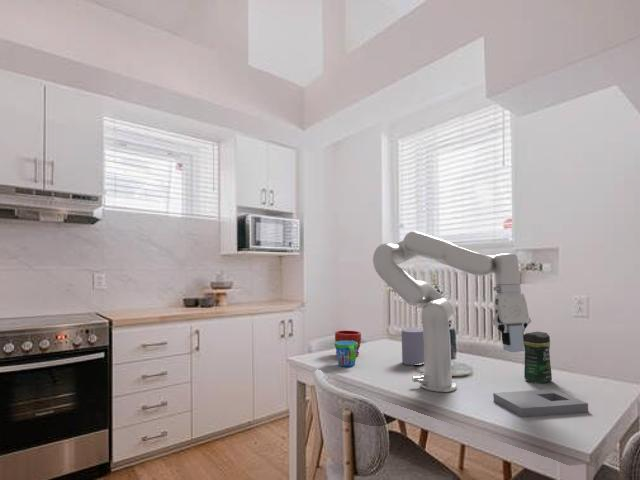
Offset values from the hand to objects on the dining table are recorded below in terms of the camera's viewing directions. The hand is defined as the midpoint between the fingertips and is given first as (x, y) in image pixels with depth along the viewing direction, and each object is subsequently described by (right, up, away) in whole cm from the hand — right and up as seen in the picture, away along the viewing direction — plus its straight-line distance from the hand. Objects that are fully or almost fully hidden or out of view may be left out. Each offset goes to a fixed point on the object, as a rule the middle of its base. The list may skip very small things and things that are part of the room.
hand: (513, 343), depth 129 cm
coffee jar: (+19, -19, +18) cm, 32 cm away
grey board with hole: (+4, -17, -9) cm, 20 cm away
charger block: (0, -2, 0) cm, 2 cm away
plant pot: (-51, -24, +63) cm, 85 cm away
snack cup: (-53, -22, +45) cm, 73 cm away
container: (-22, -22, +47) cm, 56 cm away
